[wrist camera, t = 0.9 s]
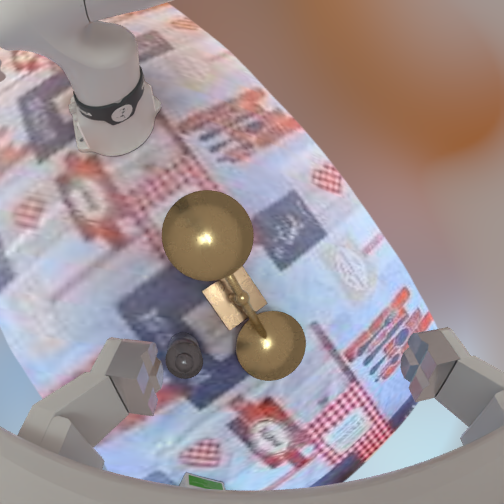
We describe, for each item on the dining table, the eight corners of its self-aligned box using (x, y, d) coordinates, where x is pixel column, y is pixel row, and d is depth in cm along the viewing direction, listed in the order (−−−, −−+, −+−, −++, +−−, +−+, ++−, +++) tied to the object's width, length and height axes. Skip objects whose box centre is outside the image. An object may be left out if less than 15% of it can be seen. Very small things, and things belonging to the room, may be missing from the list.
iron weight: (163, 342, 46) (157, 358, 33) (186, 326, 47) (188, 337, 35) (180, 366, 46) (180, 388, 34) (204, 350, 47) (211, 368, 35)
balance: (153, 238, 48) (144, 220, 35) (211, 202, 51) (221, 175, 39) (257, 387, 48) (280, 413, 36) (309, 348, 51) (344, 360, 39)
